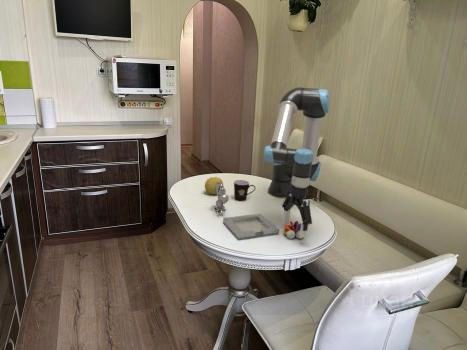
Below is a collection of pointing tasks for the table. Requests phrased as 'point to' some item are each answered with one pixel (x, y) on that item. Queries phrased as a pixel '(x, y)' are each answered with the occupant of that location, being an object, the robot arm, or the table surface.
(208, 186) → the fruit
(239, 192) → the coffee mug
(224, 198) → the robot toy
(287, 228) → the colorful rounded-lobe toy
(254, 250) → the table surface
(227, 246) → the table surface
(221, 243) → the table surface
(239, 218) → the plate
